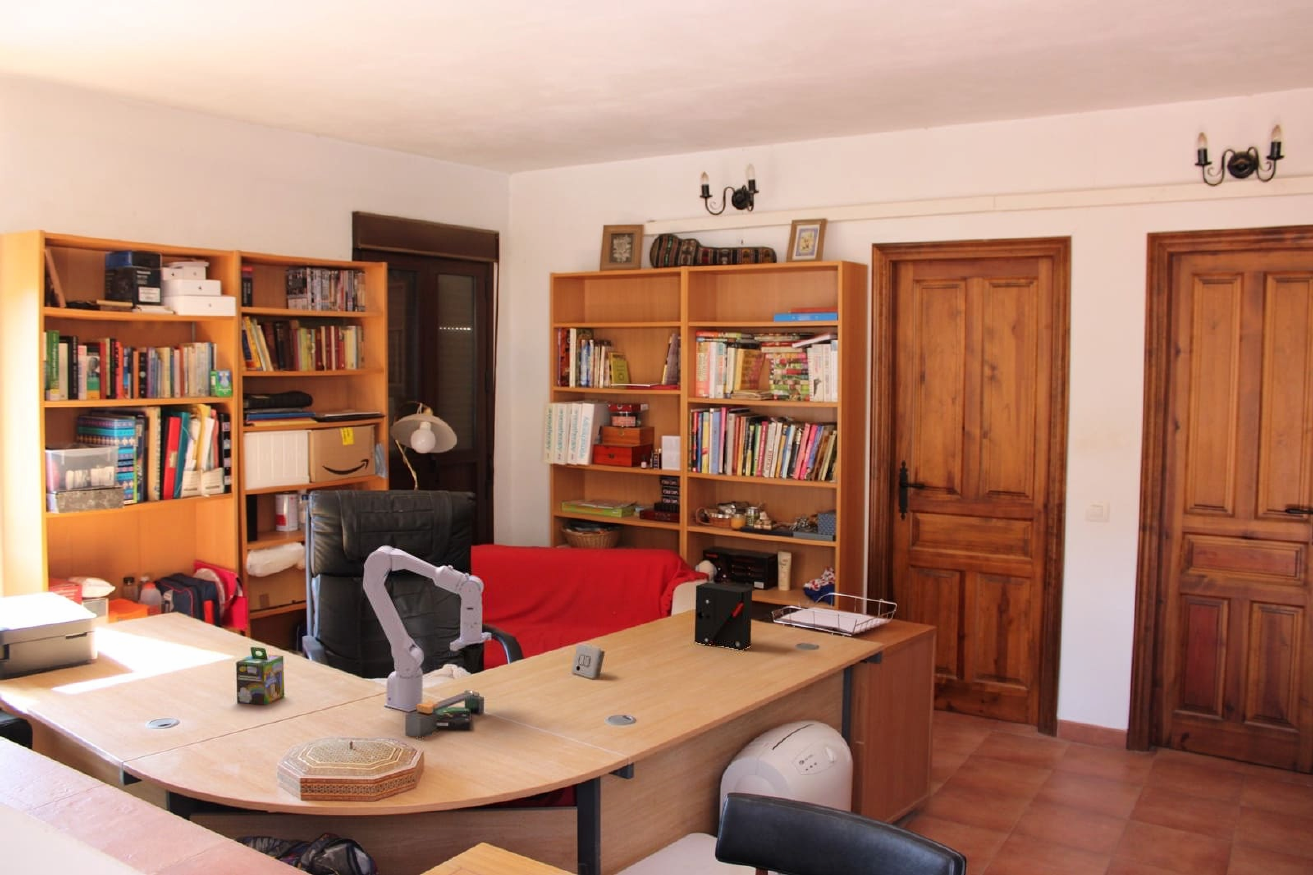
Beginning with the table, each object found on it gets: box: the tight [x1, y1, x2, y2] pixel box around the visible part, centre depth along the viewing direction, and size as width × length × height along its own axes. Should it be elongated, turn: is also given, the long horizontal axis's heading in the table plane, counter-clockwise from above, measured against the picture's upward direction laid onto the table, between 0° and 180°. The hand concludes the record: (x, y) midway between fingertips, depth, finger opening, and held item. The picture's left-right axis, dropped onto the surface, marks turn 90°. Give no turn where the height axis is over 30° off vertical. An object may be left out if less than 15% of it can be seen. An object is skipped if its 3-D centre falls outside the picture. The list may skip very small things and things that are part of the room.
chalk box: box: [235, 646, 285, 707], centre depth 293 cm, size 9×9×15 cm
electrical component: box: [694, 582, 753, 651], centre depth 363 cm, size 18×10×20 cm, turn 58°
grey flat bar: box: [432, 689, 480, 713], centre depth 278 cm, size 4×18×1 cm, turn 149°
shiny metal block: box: [404, 695, 485, 739], centre depth 277 cm, size 5×24×5 cm, turn 149°
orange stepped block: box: [416, 700, 438, 714], centre depth 271 cm, size 4×4×2 cm
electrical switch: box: [571, 642, 606, 680], centre depth 324 cm, size 9×5×9 cm, turn 49°
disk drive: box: [435, 706, 473, 732], centre depth 279 cm, size 10×3×15 cm
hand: (470, 671), depth 291 cm, fingers closed
